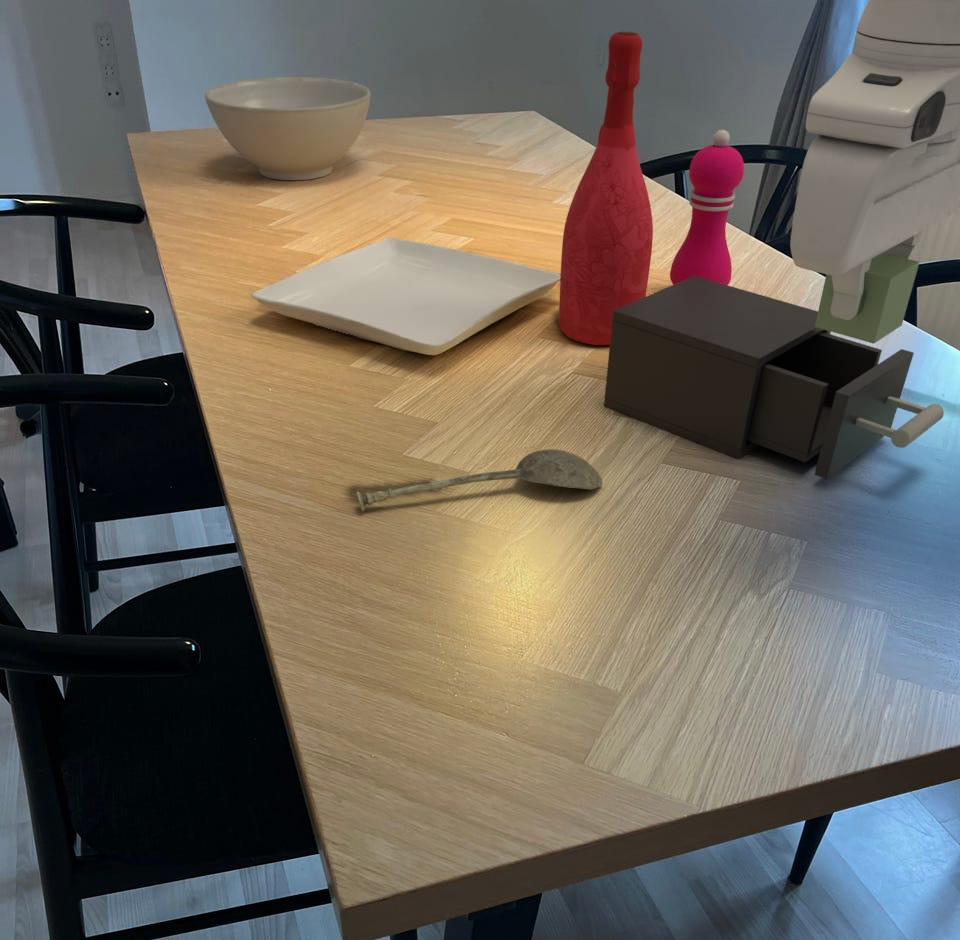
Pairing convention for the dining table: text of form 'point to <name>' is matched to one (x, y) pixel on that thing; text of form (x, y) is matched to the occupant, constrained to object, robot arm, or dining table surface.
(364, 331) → the square plate
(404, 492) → the soupspoon
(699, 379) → the drawer cabinet
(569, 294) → the wine bottle
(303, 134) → the decorative bowl
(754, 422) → the open drawer with handle
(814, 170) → the robot arm
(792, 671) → the dining table surface
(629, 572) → the dining table surface
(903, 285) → the block
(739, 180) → the pepper mill
